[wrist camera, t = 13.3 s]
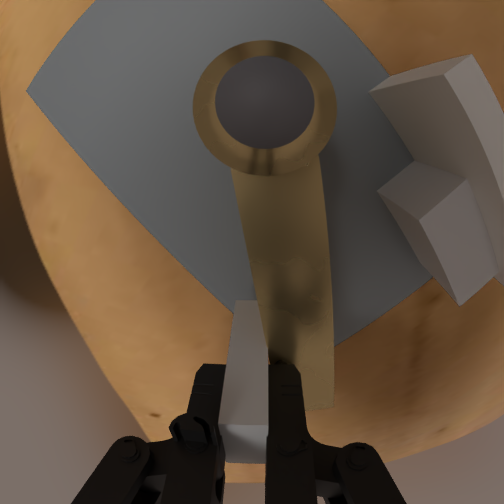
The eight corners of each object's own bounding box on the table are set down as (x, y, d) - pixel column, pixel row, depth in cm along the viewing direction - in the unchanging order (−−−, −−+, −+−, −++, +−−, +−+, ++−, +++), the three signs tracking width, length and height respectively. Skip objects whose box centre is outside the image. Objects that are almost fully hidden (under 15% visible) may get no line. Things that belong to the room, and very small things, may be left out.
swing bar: (215, 83, 11) (181, 56, 6) (299, 70, 11) (323, 33, 6) (267, 345, 17) (267, 423, 12) (330, 336, 16) (348, 413, 11)
